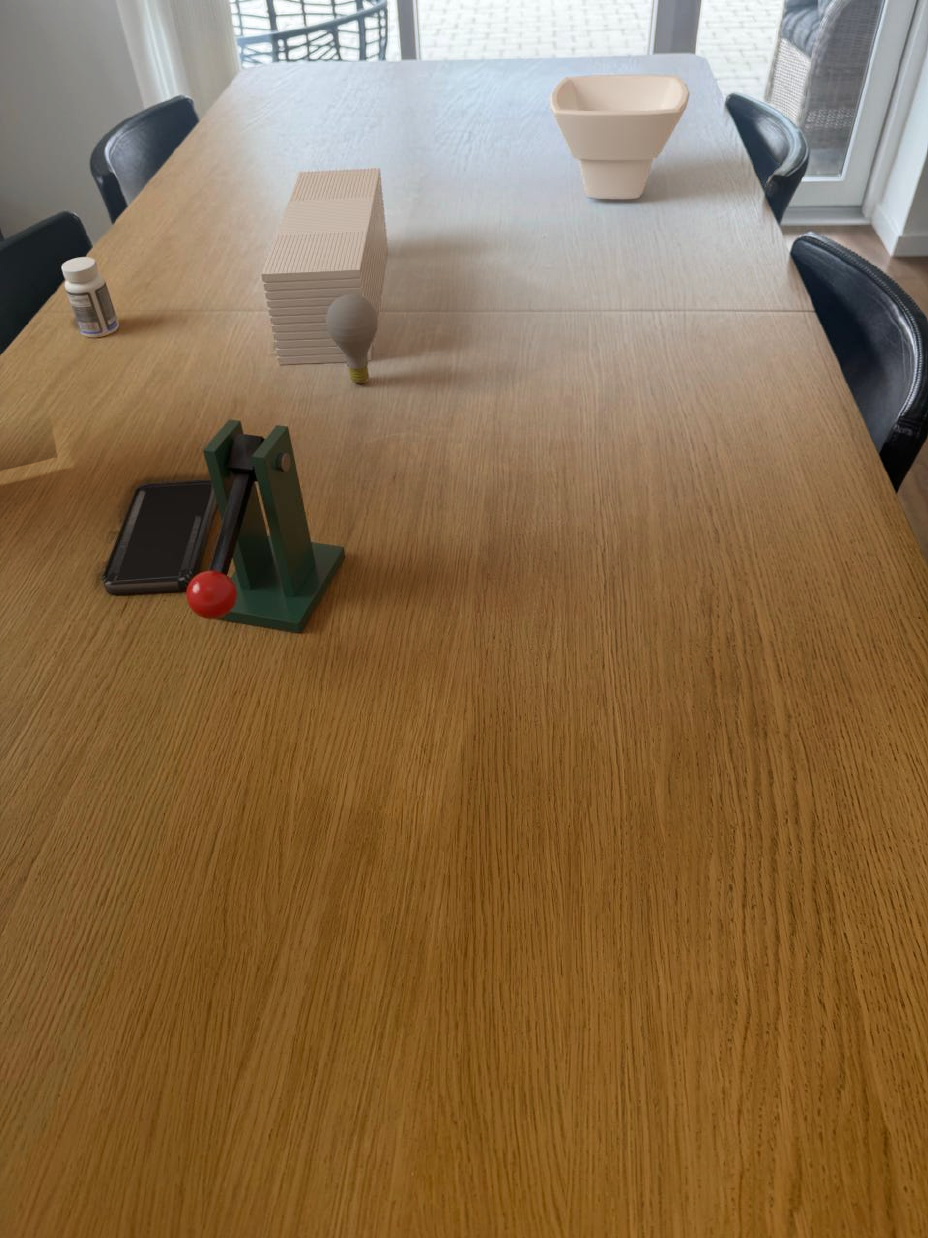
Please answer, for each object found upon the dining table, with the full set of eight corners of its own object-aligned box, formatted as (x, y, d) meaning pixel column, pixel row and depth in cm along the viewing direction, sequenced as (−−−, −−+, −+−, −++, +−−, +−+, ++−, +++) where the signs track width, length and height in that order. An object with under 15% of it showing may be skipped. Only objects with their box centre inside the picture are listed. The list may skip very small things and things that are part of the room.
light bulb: (354, 400, 104) (341, 313, 98) (326, 382, 108) (312, 296, 101) (394, 382, 107) (385, 296, 100) (366, 365, 110) (355, 280, 103)
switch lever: (237, 628, 72) (216, 615, 69) (194, 620, 73) (171, 607, 69) (285, 454, 75) (267, 433, 72) (243, 448, 76) (224, 428, 73)
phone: (98, 585, 82) (138, 482, 93) (102, 595, 83) (141, 492, 93) (191, 580, 82) (219, 478, 93) (194, 590, 82) (222, 488, 93)
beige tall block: (312, 252, 135) (299, 171, 127) (388, 248, 134) (379, 167, 127) (279, 364, 111) (261, 273, 104) (371, 360, 111) (359, 269, 104)
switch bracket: (300, 633, 78) (266, 482, 68) (212, 618, 80) (165, 468, 70) (346, 557, 85) (320, 409, 75) (263, 544, 87) (227, 398, 77)
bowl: (679, 218, 137) (690, 111, 127) (543, 217, 140) (543, 112, 130) (679, 172, 150) (689, 73, 141) (554, 172, 153) (556, 74, 144)
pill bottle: (109, 317, 123) (89, 251, 117) (125, 329, 120) (105, 263, 114) (74, 329, 121) (51, 263, 115) (89, 342, 118) (67, 275, 112)
